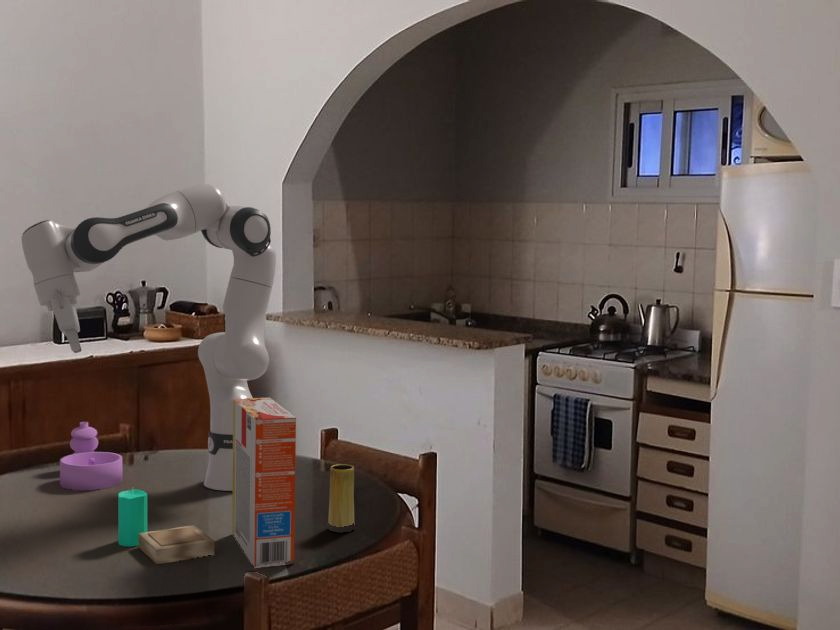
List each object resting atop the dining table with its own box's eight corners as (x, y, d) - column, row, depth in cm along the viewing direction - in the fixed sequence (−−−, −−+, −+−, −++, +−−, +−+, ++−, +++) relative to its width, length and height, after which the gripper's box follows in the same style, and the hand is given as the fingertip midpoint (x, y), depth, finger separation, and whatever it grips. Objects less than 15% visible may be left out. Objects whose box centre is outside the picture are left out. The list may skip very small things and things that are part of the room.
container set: (127, 487, 258) (126, 436, 257) (63, 493, 251) (63, 441, 250) (111, 465, 280) (111, 418, 279) (53, 469, 274) (52, 421, 273)
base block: (193, 538, 218) (194, 524, 218) (214, 554, 208) (214, 539, 208) (138, 547, 212) (138, 532, 212) (156, 564, 202) (156, 548, 201)
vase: (358, 527, 229) (360, 465, 228) (348, 535, 223) (349, 471, 222) (334, 524, 231) (335, 462, 230) (323, 531, 225) (324, 468, 224)
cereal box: (294, 564, 204) (296, 417, 201) (254, 568, 201) (255, 419, 198) (268, 531, 225) (269, 397, 222) (232, 534, 222) (233, 399, 219)
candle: (121, 537, 218) (121, 482, 217) (149, 537, 218) (149, 483, 217) (115, 546, 212) (115, 490, 211) (144, 546, 212) (144, 490, 211)
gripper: (70, 283, 218) (90, 345, 218) (74, 292, 238) (92, 349, 238) (40, 292, 216) (60, 354, 216) (46, 300, 236) (65, 357, 236)
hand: (77, 351), depth 227 cm, fingers open, 8 cm apart
